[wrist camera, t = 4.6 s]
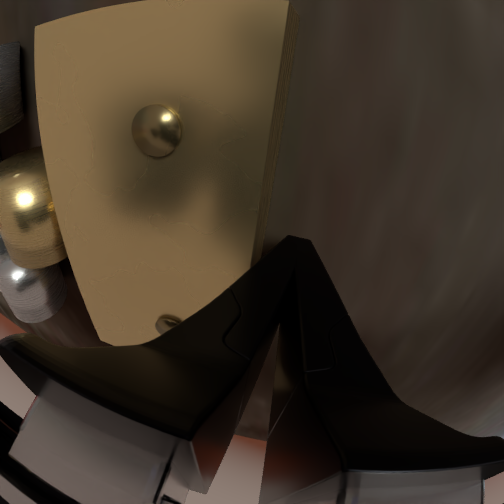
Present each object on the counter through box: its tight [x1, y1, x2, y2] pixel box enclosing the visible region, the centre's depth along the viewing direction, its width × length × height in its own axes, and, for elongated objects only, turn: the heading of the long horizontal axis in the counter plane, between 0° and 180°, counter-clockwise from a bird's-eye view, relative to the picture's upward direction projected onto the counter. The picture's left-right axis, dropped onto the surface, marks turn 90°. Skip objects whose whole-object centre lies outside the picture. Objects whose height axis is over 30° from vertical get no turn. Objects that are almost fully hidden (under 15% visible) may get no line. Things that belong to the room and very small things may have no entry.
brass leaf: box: [0, 0, 300, 346], centre depth 9 cm, size 13×11×4 cm
